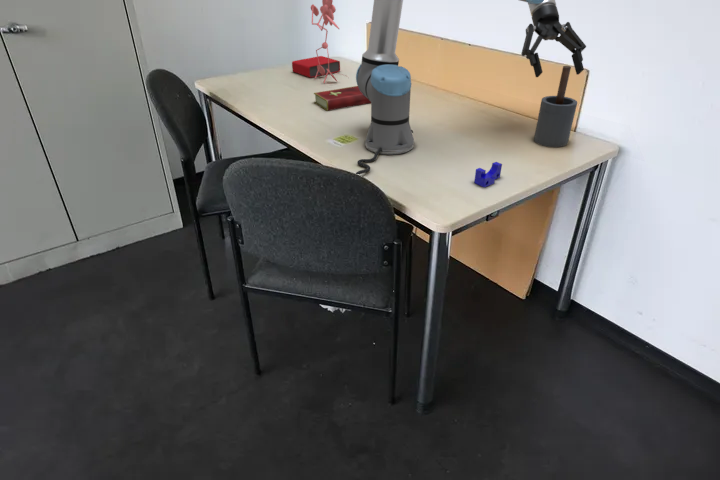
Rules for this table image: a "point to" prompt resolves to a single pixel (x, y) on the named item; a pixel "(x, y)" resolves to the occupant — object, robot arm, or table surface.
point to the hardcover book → (340, 98)
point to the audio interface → (315, 66)
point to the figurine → (328, 16)
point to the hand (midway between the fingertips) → (559, 73)
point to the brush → (563, 85)
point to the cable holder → (488, 175)
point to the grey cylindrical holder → (555, 121)
